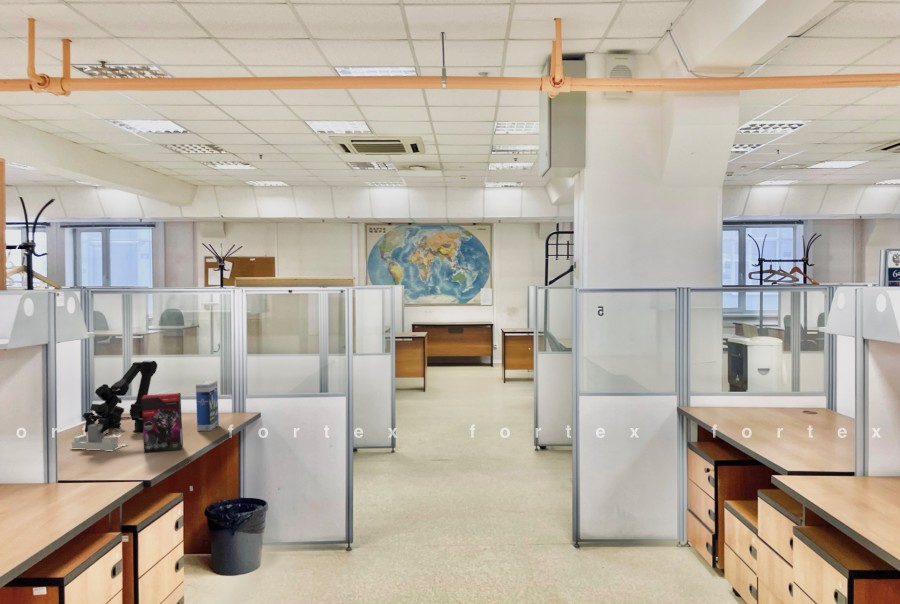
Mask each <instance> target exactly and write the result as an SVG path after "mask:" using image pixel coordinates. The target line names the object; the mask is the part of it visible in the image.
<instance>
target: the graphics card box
mask: <svg viewBox="0 0 900 604" xmlns="http://www.w3.org/2000/svg"><path fill="white" fill-rule="evenodd" d="M181 396H182V395H181V392H177V393H165V394H164V393H162V394H161V393H159V394H148V395H144V396H143V397H142V416H143V432H142V434H143V453H144V454H145V453H155V452H156V453H157V452H166V451H177V450H181V449H182V448H183V446H184V441H183V437H184V436H183V424H182V423H183V422H182V419H183V418H182V398H181Z"/></svg>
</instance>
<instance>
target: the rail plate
mask: <svg viewBox="0 0 900 604" xmlns="http://www.w3.org/2000/svg"><path fill="white" fill-rule="evenodd" d="M118 444H119V437H118V436H111V435H110V436H106V437H104V438H103V439H102V443H96V442H88V434H87V435H86V434H81V435H78V436H74V437H73V441H72V442H71V448H85V449H100V450H114V451H116V450H115V448H117V447H118ZM121 444H122V445H123V446H125V447H127V446H129V444H127V443H121ZM126 444H127V446H126ZM122 445H121V446H122ZM117 450H119V449H118V448H117Z"/></svg>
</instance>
